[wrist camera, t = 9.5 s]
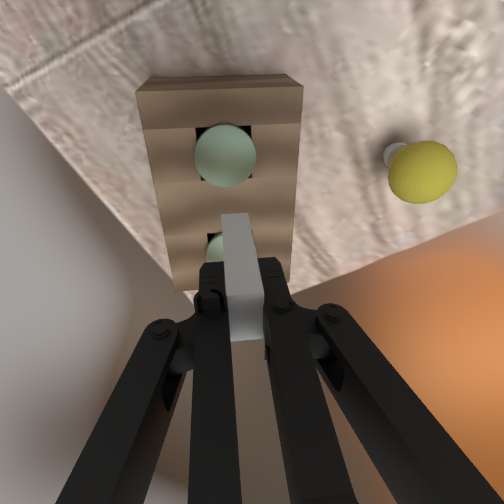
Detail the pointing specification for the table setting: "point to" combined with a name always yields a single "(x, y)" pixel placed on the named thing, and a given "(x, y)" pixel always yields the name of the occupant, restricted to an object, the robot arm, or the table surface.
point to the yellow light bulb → (420, 170)
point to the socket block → (206, 194)
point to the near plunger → (225, 155)
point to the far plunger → (216, 248)
